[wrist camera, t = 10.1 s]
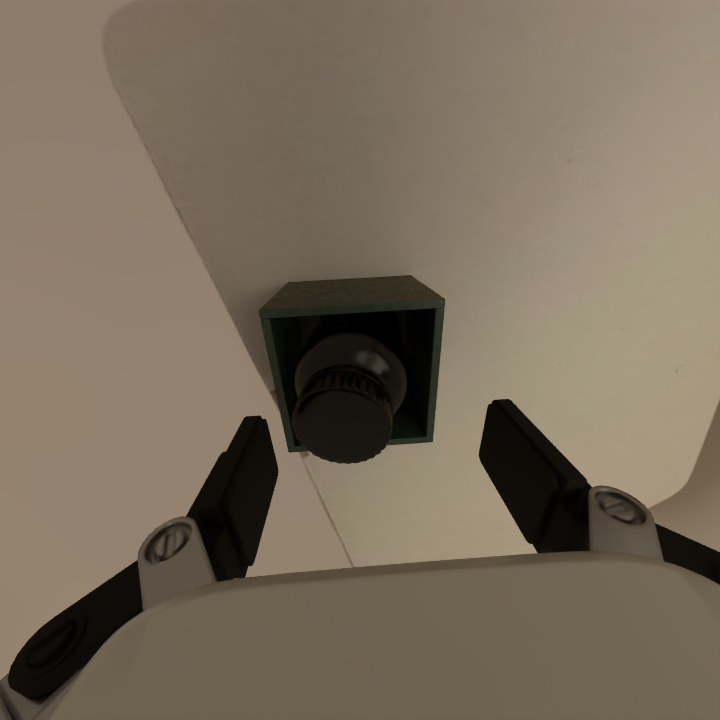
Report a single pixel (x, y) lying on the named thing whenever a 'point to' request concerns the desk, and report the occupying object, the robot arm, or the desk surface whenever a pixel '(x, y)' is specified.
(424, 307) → the open box
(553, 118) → the desk surface
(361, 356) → the supplement bottle
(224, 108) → the desk surface
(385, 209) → the desk surface
